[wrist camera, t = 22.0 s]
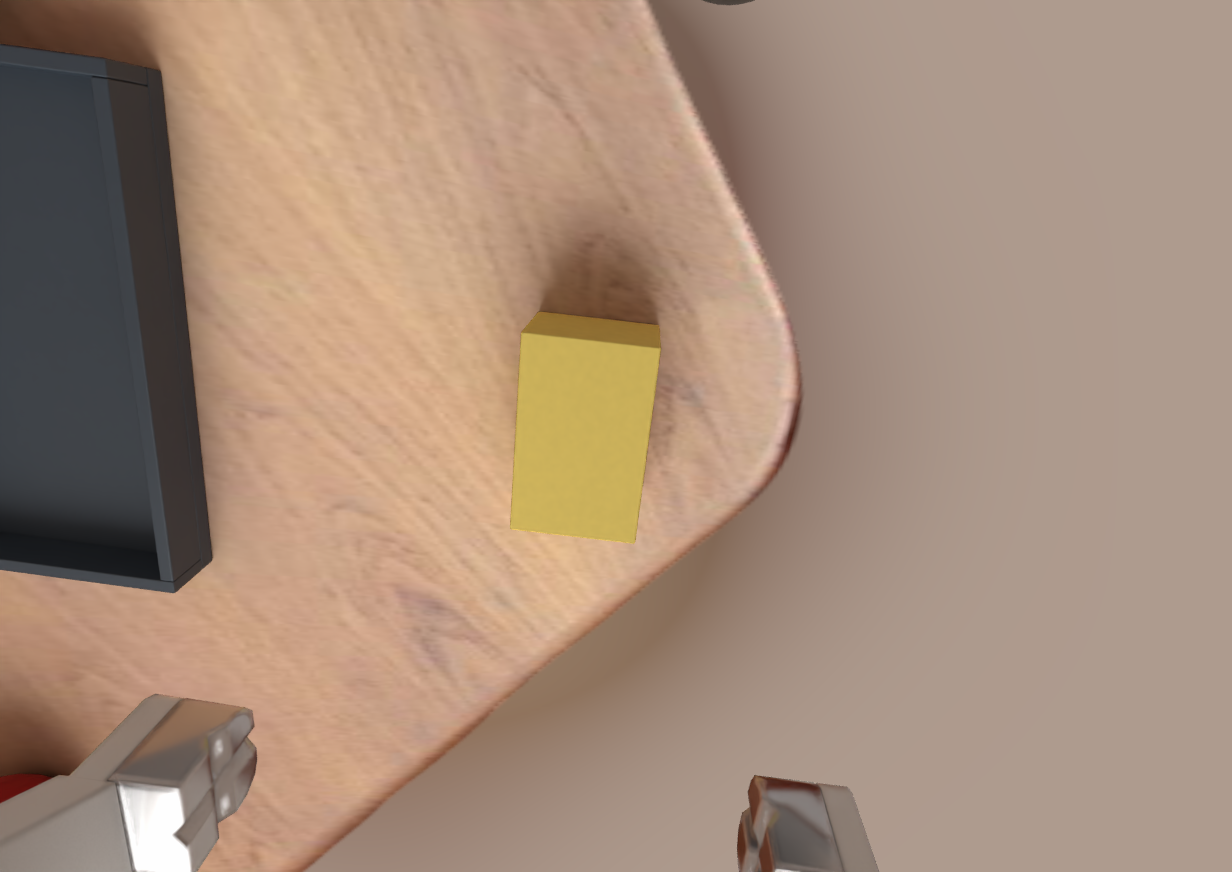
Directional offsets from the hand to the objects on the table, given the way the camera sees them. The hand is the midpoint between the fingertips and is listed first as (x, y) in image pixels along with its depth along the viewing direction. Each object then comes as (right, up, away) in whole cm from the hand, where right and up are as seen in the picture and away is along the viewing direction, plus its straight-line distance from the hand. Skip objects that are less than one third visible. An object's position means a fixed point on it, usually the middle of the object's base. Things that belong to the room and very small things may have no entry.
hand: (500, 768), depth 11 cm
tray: (-22, +10, +18) cm, 30 cm away
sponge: (+1, +6, +18) cm, 19 cm away
